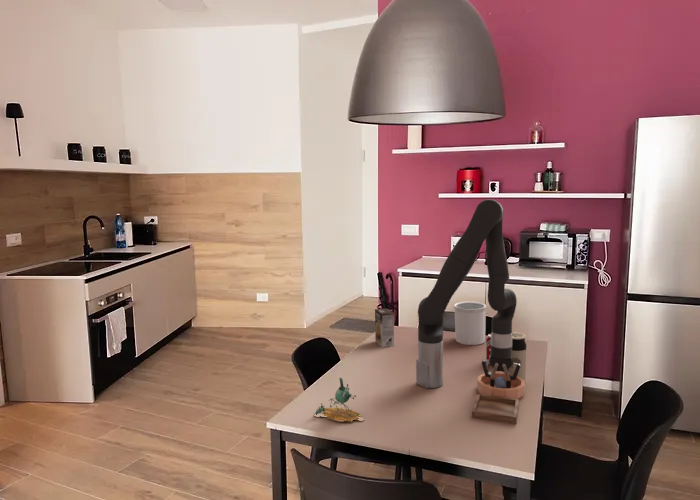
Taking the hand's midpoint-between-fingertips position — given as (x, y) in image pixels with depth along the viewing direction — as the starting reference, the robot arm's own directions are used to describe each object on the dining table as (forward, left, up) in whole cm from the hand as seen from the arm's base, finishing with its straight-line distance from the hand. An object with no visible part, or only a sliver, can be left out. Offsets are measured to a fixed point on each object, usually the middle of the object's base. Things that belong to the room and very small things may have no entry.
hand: (500, 388), depth 190 cm
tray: (-14, -10, -1) cm, 18 cm away
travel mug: (+12, +3, -1) cm, 12 cm away
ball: (0, 0, +2) cm, 2 cm away
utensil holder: (+34, +47, -1) cm, 58 cm away
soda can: (+20, +20, -1) cm, 29 cm away
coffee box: (-1, +68, -1) cm, 68 cm away
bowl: (0, 0, -1) cm, 1 cm away
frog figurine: (-58, +18, -1) cm, 61 cm away
